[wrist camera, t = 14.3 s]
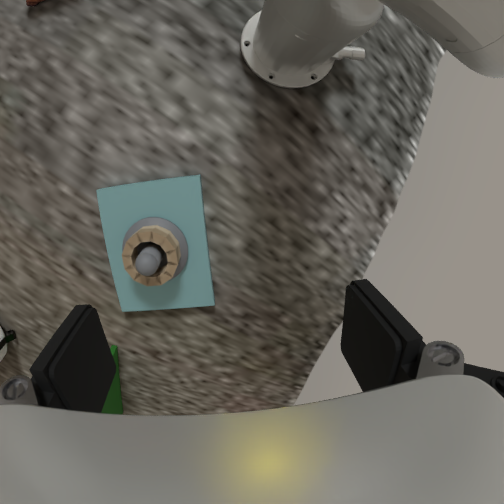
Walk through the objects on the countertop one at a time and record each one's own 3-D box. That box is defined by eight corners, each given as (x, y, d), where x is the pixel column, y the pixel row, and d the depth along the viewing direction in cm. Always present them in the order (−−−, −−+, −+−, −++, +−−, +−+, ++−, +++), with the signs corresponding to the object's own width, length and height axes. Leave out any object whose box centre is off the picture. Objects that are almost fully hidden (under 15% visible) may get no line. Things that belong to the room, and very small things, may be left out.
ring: (176, 222, 37) (172, 229, 35) (183, 273, 40) (181, 283, 37) (124, 228, 37) (117, 235, 34) (134, 278, 39) (128, 287, 37)
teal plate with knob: (200, 174, 38) (195, 181, 30) (214, 300, 44) (214, 330, 36) (100, 188, 37) (75, 198, 29) (124, 306, 43) (109, 335, 36)
